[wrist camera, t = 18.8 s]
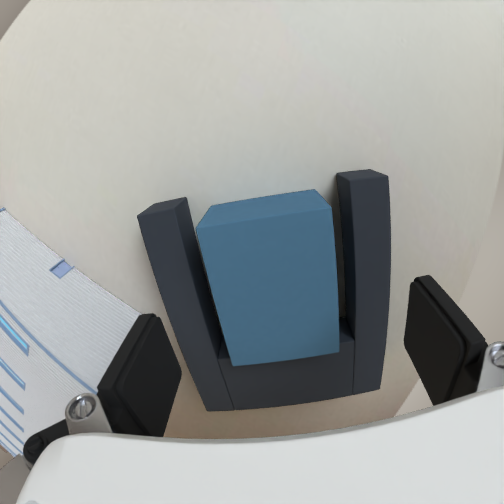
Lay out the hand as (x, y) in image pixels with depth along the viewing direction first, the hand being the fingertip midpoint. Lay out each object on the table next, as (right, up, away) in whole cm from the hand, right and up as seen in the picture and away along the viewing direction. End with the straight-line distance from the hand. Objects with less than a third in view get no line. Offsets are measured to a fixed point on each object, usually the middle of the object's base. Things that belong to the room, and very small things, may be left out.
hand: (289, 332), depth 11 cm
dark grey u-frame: (0, 0, +8) cm, 8 cm away
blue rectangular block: (0, +2, +7) cm, 7 cm away
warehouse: (-22, -9, +12) cm, 27 cm away
